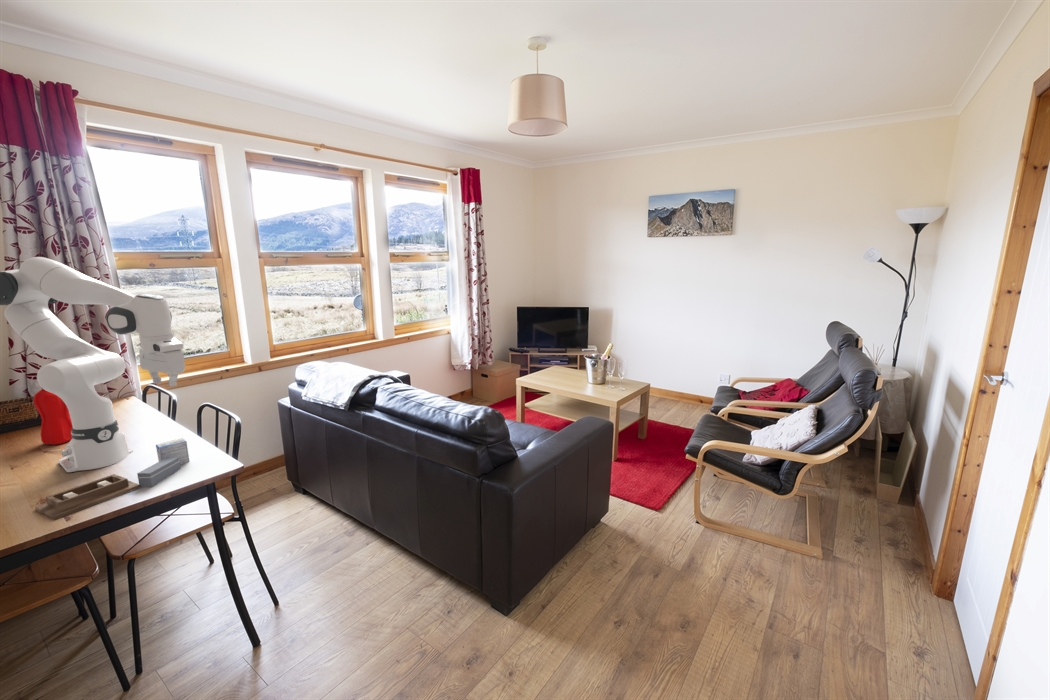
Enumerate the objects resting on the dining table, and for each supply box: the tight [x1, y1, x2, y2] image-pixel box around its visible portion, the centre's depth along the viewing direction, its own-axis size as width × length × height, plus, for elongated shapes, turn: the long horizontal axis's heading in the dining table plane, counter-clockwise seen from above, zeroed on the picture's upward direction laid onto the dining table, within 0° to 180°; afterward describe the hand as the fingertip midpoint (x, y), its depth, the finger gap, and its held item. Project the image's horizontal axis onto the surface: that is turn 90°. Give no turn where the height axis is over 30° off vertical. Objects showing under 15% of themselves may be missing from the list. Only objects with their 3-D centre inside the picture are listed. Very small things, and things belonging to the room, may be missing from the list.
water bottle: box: [33, 387, 73, 446], centre depth 180 cm, size 9×11×25 cm
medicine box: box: [155, 438, 190, 465], centre depth 158 cm, size 8×4×9 cm, turn 141°
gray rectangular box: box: [136, 457, 181, 488], centre depth 148 cm, size 4×12×5 cm, turn 0°
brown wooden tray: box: [34, 473, 141, 520], centre depth 136 cm, size 12×20×4 cm, turn 155°
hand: (165, 384), depth 151 cm, fingers open, 8 cm apart
